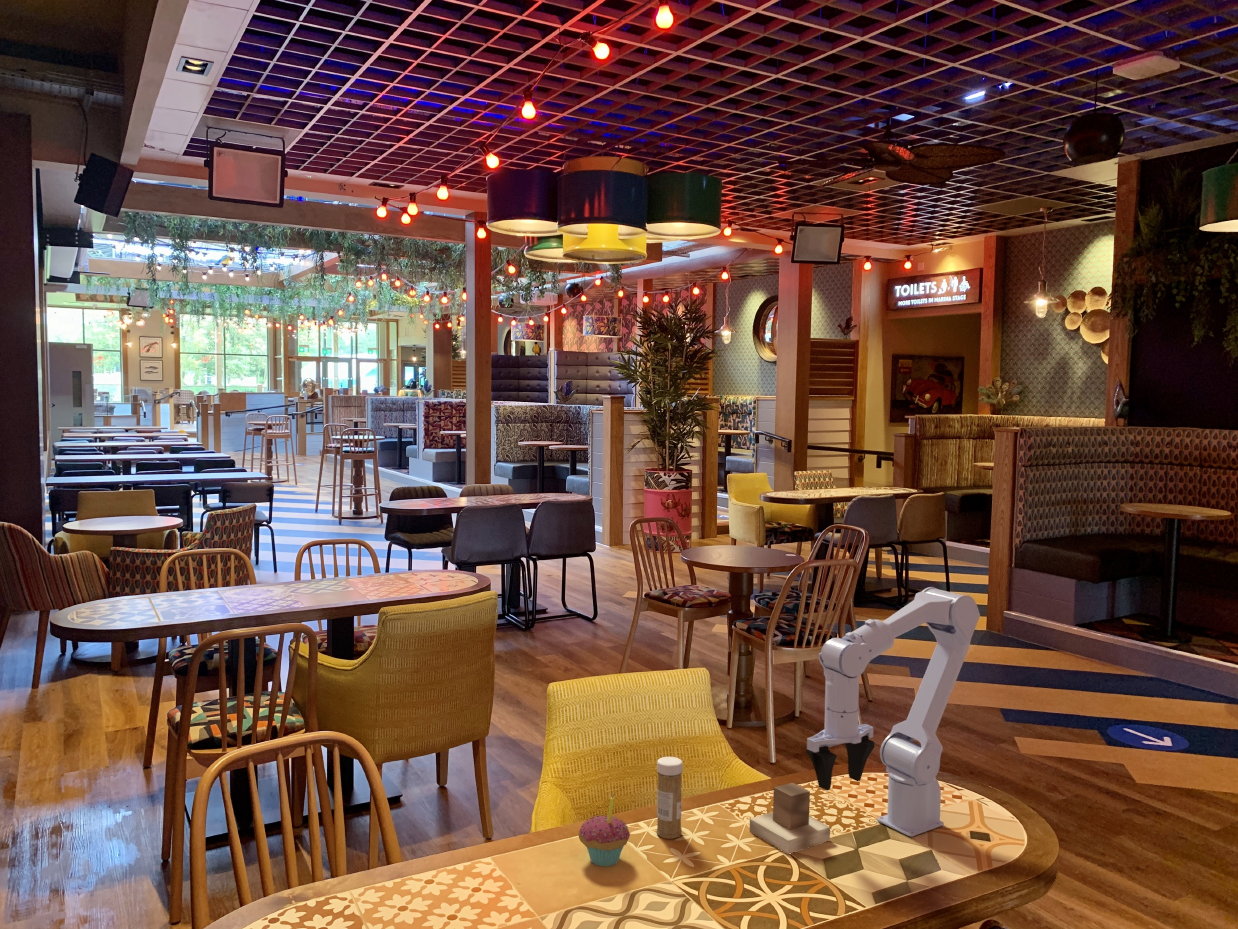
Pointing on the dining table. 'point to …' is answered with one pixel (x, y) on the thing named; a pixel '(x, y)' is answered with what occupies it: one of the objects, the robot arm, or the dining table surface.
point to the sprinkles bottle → (669, 797)
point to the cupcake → (604, 837)
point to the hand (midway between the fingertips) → (839, 783)
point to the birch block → (789, 833)
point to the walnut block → (791, 806)
